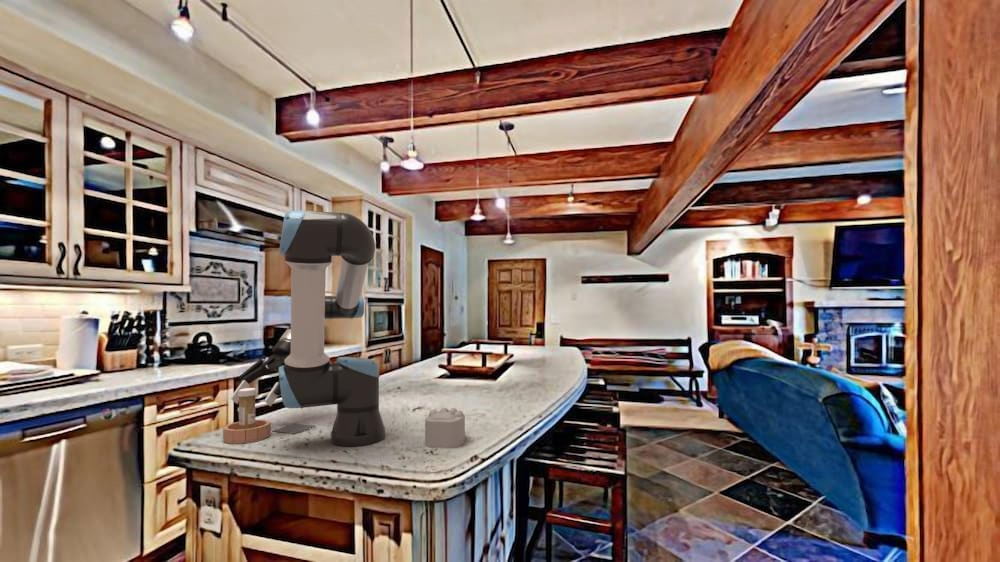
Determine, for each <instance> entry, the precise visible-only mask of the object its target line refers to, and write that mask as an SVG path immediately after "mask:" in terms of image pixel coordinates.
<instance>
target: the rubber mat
mask: <svg viewBox="0 0 1000 562" xmlns="http://www.w3.org/2000/svg"><path fill="white" fill-rule="evenodd" d="M315 426H316V425H312V424H304V423H303V424H301V423H291V424H288V425H285V426H282V427H279V428H276V429H271V432H272V431H273V433H279V432H283V433H282V434H287V433H292V434H291V435H296V434H295V433H297V434H300V433H302V432H305V431H308V430H310V429H309V428H311V429H313V428H312V427H314V428H316V427H315ZM307 429H308V430H307ZM304 430H305V431H304ZM301 431H302V432H301ZM284 432H285V433H284ZM299 432H300V433H299Z"/></svg>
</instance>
